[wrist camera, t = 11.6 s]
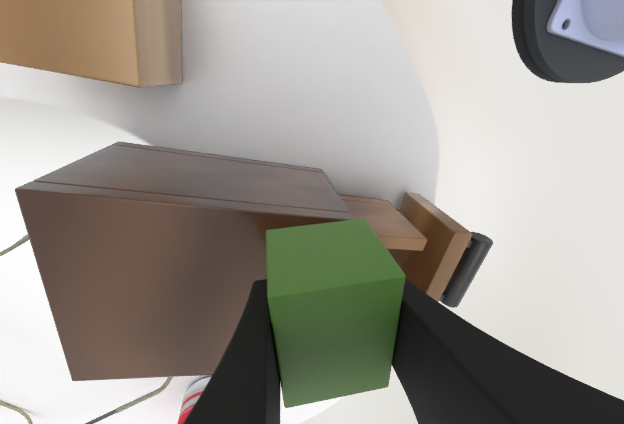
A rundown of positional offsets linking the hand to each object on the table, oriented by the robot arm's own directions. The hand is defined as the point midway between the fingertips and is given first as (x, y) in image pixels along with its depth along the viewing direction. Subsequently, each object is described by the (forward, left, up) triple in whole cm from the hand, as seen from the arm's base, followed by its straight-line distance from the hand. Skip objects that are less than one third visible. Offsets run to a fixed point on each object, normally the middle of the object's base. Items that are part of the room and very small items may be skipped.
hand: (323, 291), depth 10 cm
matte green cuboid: (0, 0, -1) cm, 1 cm away
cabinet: (+5, +4, -10) cm, 12 cm away
